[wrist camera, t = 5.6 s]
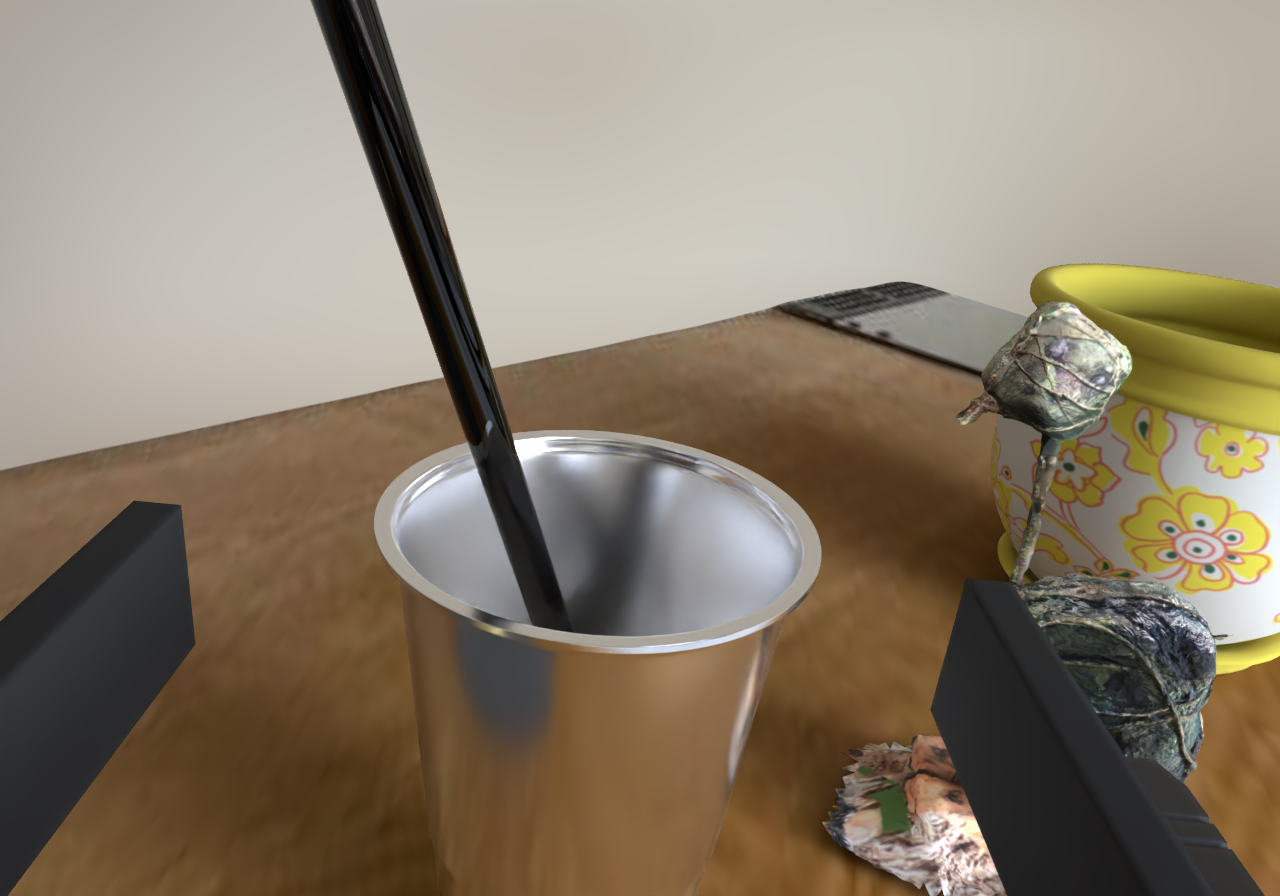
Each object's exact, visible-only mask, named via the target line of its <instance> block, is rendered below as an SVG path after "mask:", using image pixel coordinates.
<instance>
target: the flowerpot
mask: <svg viewBox="0 0 1280 896" xmlns="http://www.w3.org/2000/svg"><path fill="white" fill-rule="evenodd" d="M1030 295H1031V298H1032V301H1033V303H1034V304H1035V305H1036V307H1037V308H1038V307H1039V306H1041V305H1042V304H1043V303H1047V302H1048V301H1052V302H1068V303H1072V304H1074V305H1075V306H1077V307H1078V309H1079V311H1080V312H1081V313H1083V314H1084V315H1085V316H1086V317H1087V318H1088V319H1090V320H1091V321H1092V322H1093V323H1094V324H1095V325H1097V326H1098V327H1099V328H1100V329H1104V330H1107V331H1108V332H1109V333H1110V334H1111V335H1113V336H1114V337H1115V338H1116V339H1117V340H1118V341H1119V342H1120V343H1121V344H1122V345H1125V346H1126V347H1127V349H1128V350H1129V352H1130V354H1131V358H1132V371H1131V372H1130V374H1129V376H1128V377H1127V379H1126V380H1125V382H1124V384H1123V385H1122V387H1121V388H1120V390H1119V391H1118V392H1117V393H1116V394H1115V395H1113V396H1112V397H1111V398H1109V400H1108V403H1107V405H1106V406H1105V410H1104V413H1103V414H1102V415H1100V416H1099V421H1097V422H1096V423H1094V424H1092V425H1091V426H1090V427H1089V428H1088V429H1087V430H1086V431H1085V432H1084V433H1083V434H1081V435H1080V436H1079V437H1077V438H1076V439H1072V440H1066V441H1063V442H1062V443H1061V444H1060V450H1059V452H1058V464H1057V469H1056V471H1055V472H1054V477H1053V480H1052V483H1051V485H1050V488H1049V489H1048V491H1047V493H1046V497H1045V507H1044V508H1043V510H1042V511H1041V527H1040V531H1039V535H1038V538H1037V541H1036V543H1035V548H1034V554H1033V555H1032V557H1031V560H1030V563H1029V568H1028V569H1027V570H1026V571H1025V572H1024V573H1023V583H1022V585H1023V584H1026V583H1030V582H1036V581H1038V580H1040V579H1042V578H1043V577H1044V576H1048V575H1051V576H1057V577H1058V576H1064V575H1067V574H1068V573H1072V574H1074V573H1075V574H1077V573H1080V574H1085V575H1088V576H1094V577H1102V578H1107V579H1128V580H1131V581H1152V582H1158V583H1164V584H1166V585H1168V586H1169V587H1170V588H1172V589H1173V590H1175V591H1177V592H1178V593H1179V594H1180V595H1181V596H1182V597H1183V598H1184V599H1185V600H1187V601H1188V602H1190V603H1191V604H1192V605H1193V606H1194V607H1195V608H1196V609H1197V610H1198V612H1199V615H1200V616H1202V617H1203V619H1204V620H1205V621H1207V623H1208V626H1209V628H1210V631H1211V633H1212V635H1221V634H1227V635H1228V637H1226V638H1225V639H1223V640H1220V641H1219V640H1217V639H1215V644H1216V650H1217V653H1216V654H1217V655H1216V669H1217V671H1216V674H1226V673H1232V672H1236V671H1240V670H1242V669H1245V668H1247V667H1249V666H1251V665H1254V664H1259V663H1263V662H1267V661H1270V660H1272V659H1275V658H1276V657H1278V656H1280V289H1279V288H1274V287H1269V286H1265V285H1260V284H1255V283H1249V282H1244V281H1238V280H1233V279H1228V278H1222V277H1216V276H1210V275H1204V274H1197V273H1190V272H1183V271H1176V270H1169V269H1160V268H1152V267H1142V266H1130V265H1116V264H1067V265H1059V266H1053V267H1049V268H1046V269H1044V270H1042V271H1041V272H1039V273H1038V274H1037V275H1036V276H1035V277H1034V279H1033V281H1032V283H1031V288H1030ZM1041 437H1042V434H1041V433H1040V432H1038V431H1036V430H1035V429H1034V428H1033V427H1031V426H1029V425H1027V424H1024V423H1022V422H1020V421H1017V420H1013V419H1006V418H1003V416H1002V415H1000V414H999V416H998V420H997V424H996V428H995V433H994V438H993V445H992V453H991V479H992V488H993V494H994V499H995V503H996V506H997V510H998V513H999V516H1000V519H1001V521H1002V524H1003V526H1004V528H1005V531H1006V532H1005V533H1004V534H1003V535H1002V536H1001V538H1000V540H999V543H998V549H997V551H998V557H999V561H1000V563H1001V565H1002V567H1003V569H1004V571H1005V572H1006V574H1007V575H1008V576H1009V578H1010V576H1011V574H1012V572H1013V569H1014V567H1015V563H1016V560H1017V557H1018V553H1019V550H1020V547H1021V544H1022V538H1023V532H1024V530H1025V528H1026V527H1027V519H1028V515H1029V511H1030V507H1031V504H1032V500H1031V495H1032V490H1033V485H1034V482H1035V472H1036V468H1037V458H1038V456H1039V455H1040V449H1041ZM1230 635H1233V636H1230Z"/></svg>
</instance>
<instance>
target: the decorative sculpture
mask: <svg viewBox="0 0 1280 896" xmlns="http://www.w3.org/2000/svg"><path fill="white" fill-rule="evenodd" d="M1131 371H1132V358H1131V354H1130V352H1129V350H1128V349H1127V347H1126V346H1125V345H1122V344H1121V343H1120V342H1119V341H1118V340H1117V339H1116V338H1115V337H1114V336H1113V335H1111V334H1110V333H1109V332H1108V331H1107V330H1104V329H1100V328H1099V327H1098V326H1097V325H1095V324H1094V323H1093V322H1092V321H1091V320H1090V319H1088V318H1087V317H1086V316H1085V315H1084V314H1083V313H1081V312H1080V311H1079V309H1078V307H1077V306H1075V305H1074V304H1072V303H1068V302H1052V301H1048V302H1047V303H1043V304H1042V305H1041V306H1039V307H1038V308H1037V310H1036V311H1035V312H1034V313H1033V314H1031V316H1030V317H1029V318H1028V320H1027V321H1026V323H1025V324H1024V327H1023V328H1022V329H1021V330H1020V331H1019V332H1018V333H1017V334H1015V335H1014V336H1013V337H1012V338H1011V340H1010V341H1009V342H1008V343H1006V344H1005V345H1004V346H1003V347H1001V348H1000V349H999V351H998V352H997V353H996V354H995V355H994V357H993V359H992V360H991V361H990V362H989V364H988V365H987V367H986V368H985V370H984V371H983V373H982V381H983V385H984V394H983V395H982V396H980V397H978V398H975V399H973V400H972V401H971V403H970V405H969V407H968V408H966V409H965V410H963V411H962V412H960V413H959V414H958V415H957V417H956V419H955V420H956V421H957V423H958V424H963V425H968V424H970V423H972V422H974V421H976V420H977V419H978V418H979V417H980V416H981V415H982V413H988V412H991V413H997V414H1000V415H1002V416H1003V418H1006V419H1013V420H1017V421H1020V422H1022V423H1024V424H1027V425H1029V426H1031V427H1033V428H1034V429H1035V430H1036V431H1038V432H1040V433H1041V434H1042V437H1041V449H1040V455H1039V456H1038V458H1037V468H1036V472H1035V482H1034V485H1033V490H1032V495H1031V500H1032V504H1031V507H1030V511H1029V515H1028V519H1027V527H1026V528H1025V530H1024V532H1023V538H1022V544H1021V547H1020V550H1019V553H1018V557H1017V560H1016V563H1015V567H1014V569H1013V572H1012V574H1011V576H1010V579H1009V582H1011V583H1012V584H1013V586H1014V587H1015V589H1016V590H1017V592H1018V594H1019V595H1020V597H1021V598H1022V600H1023V601H1024V603H1025V604H1026V606H1027V607H1028V609H1029V610H1030V612H1031V613H1032V615H1033V616H1034V618H1035V620H1036V621H1037V623H1038V624H1039V626H1040V627H1041V629H1042V630H1043V632H1044V633H1045V635H1046V636H1047V638H1048V639H1049V641H1050V643H1051V644H1052V646H1053V647H1054V649H1055V650H1056V652H1057V653H1058V655H1059V656H1060V658H1061V659H1062V661H1063V662H1064V664H1065V665H1066V667H1067V669H1068V670H1069V672H1070V673H1071V675H1072V676H1073V678H1074V679H1075V681H1076V682H1077V684H1078V685H1079V687H1080V688H1081V690H1082V691H1083V693H1084V695H1085V696H1086V698H1087V699H1088V701H1089V702H1090V704H1091V705H1092V707H1093V708H1094V710H1095V711H1096V713H1097V714H1098V716H1099V717H1100V719H1101V721H1102V722H1103V724H1104V725H1105V727H1106V728H1107V730H1108V731H1109V733H1110V734H1111V736H1112V737H1113V739H1114V740H1115V742H1116V744H1117V745H1118V747H1119V748H1120V750H1121V751H1122V753H1123V754H1124V756H1125V757H1131V758H1143V759H1154V760H1155V761H1157V762H1158V763H1159V764H1160V765H1161V766H1163V767H1164V768H1165V769H1166V770H1167V771H1169V772H1170V773H1171V774H1172V775H1173V776H1175V777H1176V778H1177V779H1178V780H1179V781H1181V782H1182V783H1185V781H1186V777H1188V775H1189V773H1192V772H1193V771H1194V770H1196V768H1197V765H1198V763H1197V761H1196V759H1195V757H1196V755H1197V754H1198V753H1199V749H1200V747H1201V746H1202V739H1203V738H1204V734H1203V719H1202V715H1201V713H1200V710H1201V708H1202V707H1203V706H1204V705H1205V704H1206V703H1207V701H1208V699H1209V696H1210V694H1211V692H1212V686H1213V682H1214V679H1215V678H1216V671H1217V669H1216V655H1217V654H1216V653H1217V650H1216V644H1215V639H1217V640H1219V641H1220V640H1223V639H1225V638H1226V637H1228V635H1227V634H1221V635H1212V633H1211V631H1210V628H1209V626H1208V623H1207V621H1205V620H1204V619H1203V617H1202V616H1200V615H1199V612H1198V610H1197V609H1196V608H1195V607H1194V606H1193V605H1192V604H1191V603H1190V602H1188V601H1187V600H1185V599H1184V598H1183V597H1182V596H1181V595H1180V594H1179V593H1178V592H1177V591H1175V590H1173V589H1172V588H1170V587H1169V586H1168V585H1166V584H1164V583H1158V582H1152V581H1131V580H1128V579H1107V578H1102V577H1094V576H1088V575H1085V574H1080V573H1077V574H1075V573H1074V574H1072V573H1068V574H1067V575H1064V576H1058V577H1057V576H1051V575H1048V576H1044V577H1043V578H1042V579H1040V580H1038V581H1036V582H1030V583H1026V584H1023V585H1022V583H1023V573H1024V572H1025V571H1026V570H1027V569H1028V568H1029V563H1030V560H1031V557H1032V555H1033V554H1034V548H1035V543H1036V541H1037V538H1038V535H1039V531H1040V527H1041V511H1042V510H1043V508H1044V507H1045V497H1046V493H1047V491H1048V489H1049V488H1050V485H1051V483H1052V480H1053V477H1054V472H1055V471H1056V469H1057V464H1058V452H1059V450H1060V444H1061V443H1062V442H1063V441H1066V440H1072V439H1076V438H1077V437H1079V436H1080V435H1081V434H1083V433H1084V432H1085V431H1086V430H1087V429H1088V428H1089V427H1090V426H1091V425H1092V424H1094V423H1096V422H1097V421H1099V416H1100V415H1102V414H1103V413H1104V410H1105V406H1106V405H1107V403H1108V400H1109V398H1111V397H1112V396H1113V395H1115V394H1116V393H1117V392H1118V391H1119V390H1120V388H1121V387H1122V385H1123V384H1124V382H1125V380H1126V379H1127V377H1128V376H1129V374H1130V372H1131ZM1230 636H1233V635H1230ZM855 749H859V748H855ZM848 750H849V751H850V752H851V754H852V755H853V756H851V755H848V754H845V753H843V754H845V755H847V756H849V757H851V758H853V759H855V760H857V761H859V762H858V763H855V764H852V765H849V766H847V767H844V768H842V769H845V770H849V771H853V772H855V773H853V774H850V775H847V776H844V777H843V780H844V784H845V788H846V789H845V788H835V790H836V792H837V794H838V795H839V796H838V797H837V798H836V799H835V801H836V802H838V803H839V804H840V805H834V806H833V807H834V808H835V809H836V810H837V811H839V812H840V813H839V812H833V811H827V812H828V814H829V816H830V819H831V821H825V822H822V823H823V825H824V826H825V828H826V830H827V831H828V833H829V834H830V835H831V836H833V839H832V840H834V841H837V842H838V844H839V846H843V847H845V848H846V849H848V850H849V851H852V852H854V853H855V855H857V856H860V857H861V858H863V859H865V860H867V861H869V862H870V863H871V864H872V865H873V867H876V868H879V869H883V870H884V871H886V872H890V873H894V874H896V875H897V876H898V877H899V878H901V879H902V880H905V881H908V882H911V883H913V884H914V885H915V886H916V887H917V888H918V889H920V888H921V886H922V885H923V883H924V884H925V886H926V888H927V890H928V893H929V895H930V896H937V895H938V894H939V892H940V891H941V889H942V890H943V893H944V896H1007V894H1006V892H1005V889H1004V887H1003V885H1002V882H1001V880H1000V877H999V875H998V872H997V870H996V868H995V865H994V863H993V860H992V858H991V855H990V853H989V851H988V848H987V846H986V843H985V841H984V838H983V836H982V834H981V831H980V829H979V826H978V824H977V821H976V819H975V816H974V814H973V812H972V809H971V807H970V804H969V802H968V799H967V797H966V795H965V792H964V790H963V787H962V785H961V782H960V780H959V778H958V775H957V773H956V770H955V768H954V765H953V763H952V761H951V758H950V756H949V753H948V751H947V748H946V746H945V744H944V741H943V739H942V738H941V737H938V736H932V735H921V734H919V735H918V736H915V737H913V740H912V743H911V745H910V746H907V747H905V748H904V747H903V746H901V745H899V744H897V743H896V742H894V743H893V745H892V747H891V749H889V747H888V746H887V744H886V743H884V744H881V745H879V746H878V745H874V744H871V743H869V744H867V745H866V746H864V747H863V748H862V749H860V750H850V749H848ZM863 750H864V751H863Z"/></svg>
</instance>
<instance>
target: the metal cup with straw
mask: <svg viewBox="0 0 1280 896" xmlns="http://www.w3.org/2000/svg"><path fill="white" fill-rule="evenodd" d="M311 3H312V6H313V9H314V11H315V14H316V17H317V20H318V23H319V25H320V28H321V31H322V34H323V37H324V40H325V42H326V45H327V48H328V51H329V54H330V56H331V59H332V62H333V65H334V68H335V71H336V74H337V76H338V79H339V82H340V85H341V88H342V90H343V93H344V96H345V99H346V102H347V104H348V107H349V110H350V113H351V116H352V118H353V121H354V124H355V127H356V130H357V133H358V135H359V138H360V141H361V144H362V147H363V150H364V152H365V155H366V158H367V161H368V164H369V166H370V169H371V172H372V175H373V178H374V181H375V184H376V186H377V189H378V192H379V195H380V198H381V200H382V203H383V206H384V209H385V212H386V215H387V217H388V220H389V223H390V226H391V228H392V231H393V234H394V237H395V240H396V243H397V245H398V248H399V251H400V254H401V257H402V260H403V262H404V265H405V268H406V271H407V274H408V276H409V279H410V282H411V285H412V288H413V291H414V293H415V296H416V299H417V302H418V305H419V307H420V310H421V313H422V316H423V319H424V322H425V324H426V327H427V330H428V333H429V336H430V338H431V341H432V344H433V347H434V350H435V353H436V355H437V358H438V361H439V364H440V367H441V369H442V372H443V375H444V378H445V381H446V384H447V387H448V389H449V392H450V395H451V398H452V401H453V403H454V406H455V409H456V412H457V415H458V418H459V420H460V423H461V426H462V429H463V432H464V435H465V437H466V440H467V443H464V444H460V445H457V446H454V447H451V448H448V449H446V450H443V451H441V452H438V453H436V454H434V455H431V456H429V457H427V458H425V459H423V460H422V461H420V462H418V463H416V464H415V465H413V466H412V467H410V468H409V469H407V470H406V471H404V472H403V473H402V474H401V475H399V476H398V477H397V478H396V479H395V480H394V481H393V482H392V483H391V484H390V485H389V487H388V488H387V489H386V490H385V492H384V493H383V495H382V497H381V498H380V500H379V503H378V505H377V508H376V512H375V517H374V536H375V542H376V546H377V549H378V552H379V554H380V556H381V558H382V560H383V562H384V563H385V565H386V567H387V568H388V569H389V571H390V572H391V573H392V574H393V576H394V577H395V578H396V579H397V580H398V581H399V582H400V587H401V595H402V604H403V612H404V620H405V629H406V637H407V646H408V654H409V663H410V672H411V680H412V689H413V697H414V706H415V715H416V723H417V732H418V741H419V749H420V758H421V767H422V775H423V784H424V793H425V802H426V811H427V820H428V827H429V832H430V836H431V840H432V843H433V846H434V851H435V861H436V870H437V880H438V890H439V896H697V893H698V890H699V886H700V883H701V880H702V876H703V873H704V870H705V868H706V866H707V864H708V862H709V860H710V858H711V856H712V853H713V850H714V848H715V845H716V841H717V838H718V835H719V831H720V828H721V825H722V821H723V818H724V815H725V811H726V808H727V805H728V802H729V798H730V795H731V792H732V788H733V785H734V782H735V779H736V775H737V772H738V769H739V765H740V762H741V759H742V756H743V752H744V749H745V746H746V743H747V739H748V736H749V733H750V729H751V726H752V723H753V720H754V716H755V713H756V710H757V707H758V703H759V700H760V697H761V693H762V690H763V687H764V684H765V680H766V677H767V674H768V671H769V667H770V664H771V661H772V658H773V654H774V651H775V648H776V645H777V641H778V638H779V635H780V632H781V629H782V625H783V622H784V619H785V616H786V615H788V614H789V613H790V612H792V611H793V610H794V609H795V608H796V607H797V606H798V605H799V604H800V603H802V601H803V600H804V599H805V598H806V597H807V595H808V594H809V593H810V591H811V590H812V588H813V586H814V584H815V582H816V580H817V577H818V574H819V570H820V565H821V557H822V551H821V543H820V539H819V536H818V533H817V531H816V529H815V527H814V525H813V523H812V521H811V520H810V518H809V517H808V515H807V514H806V513H805V512H804V510H803V509H802V508H801V507H800V506H799V505H798V504H797V503H796V502H795V501H794V500H793V499H792V498H791V497H790V496H789V495H787V494H786V493H785V492H784V491H783V490H781V489H780V488H778V487H777V486H776V485H774V484H773V483H771V482H770V481H768V480H767V479H765V478H763V477H762V476H760V475H758V474H756V473H754V472H753V471H751V470H749V469H747V468H745V467H743V466H740V465H738V464H736V463H734V462H731V461H729V460H727V459H724V458H722V457H719V456H716V455H714V454H711V453H708V452H705V451H702V450H699V449H695V448H692V447H688V446H685V445H681V444H677V443H673V442H669V441H664V440H659V439H654V438H649V437H643V436H637V435H630V434H623V433H614V432H603V431H586V430H548V431H531V432H521V433H511V430H510V426H509V423H508V420H507V417H506V414H505V410H504V407H503V404H502V401H501V398H500V394H499V391H498V388H497V385H496V382H495V378H494V375H493V372H492V369H491V366H490V362H489V359H488V356H487V353H486V350H485V346H484V343H483V340H482V337H481V334H480V331H479V327H478V324H477V321H476V318H475V314H474V311H473V308H472V305H471V302H470V298H469V295H468V292H467V289H466V286H465V283H464V279H463V276H462V273H461V270H460V267H459V263H458V260H457V257H456V254H455V250H454V247H453V244H452V241H451V238H450V234H449V231H448V228H447V225H446V222H445V218H444V215H443V212H442V209H441V206H440V203H439V199H438V196H437V193H436V190H435V187H434V183H433V180H432V177H431V174H430V170H429V167H428V164H427V161H426V158H425V155H424V151H423V148H422V145H421V142H420V138H419V136H418V133H417V129H416V126H415V122H414V119H413V116H412V113H411V110H410V107H409V103H408V100H407V97H406V94H405V90H404V87H403V84H402V81H401V78H400V74H399V71H398V68H397V65H396V62H395V58H394V55H393V52H392V49H391V46H390V43H389V39H388V36H387V33H386V30H385V26H384V24H383V20H382V17H381V14H380V11H379V7H378V4H377V1H376V0H311Z"/></svg>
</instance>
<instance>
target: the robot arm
mask: <svg viewBox="0 0 1280 896" xmlns="http://www.w3.org/2000/svg"><path fill="white" fill-rule="evenodd" d="M194 645H195V637H194V627H193V617H192V607H191V598H190V588H189V578H188V569H187V559H186V549H185V539H184V530H183V520H182V510H181V505H174V504H163V503H152V502H142V501H133V502H132V503H131V504H130V505H129V506H128V507H127V508H125V509H124V510H123V511H122V512H121V513H120V514H119V515H118V516H117V517H115V518H114V519H113V520H112V521H111V522H110V523H109V524H108V525H107V526H105V527H104V528H103V529H102V530H101V531H100V532H99V533H98V534H97V535H96V536H94V537H93V538H92V539H91V540H90V541H89V542H88V543H87V544H86V545H84V546H83V547H82V548H81V549H80V550H79V551H78V552H77V553H76V554H74V555H73V556H72V557H71V558H70V559H69V560H68V561H67V562H66V563H65V564H63V565H62V566H61V567H60V568H59V569H58V570H57V571H56V572H55V573H53V574H52V575H51V576H50V577H49V578H48V579H47V580H46V581H45V582H43V583H42V584H41V585H40V586H39V587H38V588H37V589H36V590H35V591H34V592H32V593H31V594H30V595H29V596H28V597H27V598H26V599H25V600H24V601H22V602H21V603H20V604H19V605H18V606H17V607H16V608H15V609H14V610H12V611H11V612H10V613H9V614H8V615H7V616H6V617H5V618H4V619H3V620H1V621H0V896H8V894H9V893H10V892H11V890H12V889H13V888H14V886H15V885H16V884H17V882H18V881H19V880H20V878H21V877H22V876H23V874H24V873H25V872H26V870H27V869H28V868H29V866H30V865H31V864H32V862H33V861H34V860H35V858H36V857H37V856H38V854H39V853H40V852H41V850H42V849H43V848H44V846H45V845H46V844H47V842H48V841H49V840H50V838H51V837H52V835H53V834H54V833H55V831H56V830H57V829H58V827H59V826H60V825H61V823H62V822H63V821H64V819H65V818H66V817H67V815H68V814H69V813H70V811H71V810H72V809H73V807H74V806H75V805H76V803H77V802H78V801H79V799H80V798H81V797H82V795H83V794H84V793H85V791H86V790H87V789H88V787H89V786H90V785H91V783H92V782H93V781H94V779H95V778H96V777H97V775H98V774H99V773H100V771H101V770H102V769H103V767H104V766H105V765H106V763H107V762H108V761H109V759H110V758H111V757H112V755H113V754H114V752H115V751H116V750H117V748H118V747H119V746H120V744H121V743H122V742H123V740H124V739H125V738H126V736H127V735H128V734H129V732H130V731H131V730H132V728H133V727H134V726H135V724H136V723H137V722H138V720H139V719H140V718H141V716H142V715H143V714H144V712H145V711H146V710H147V708H148V707H149V706H150V704H151V703H152V702H153V700H154V699H155V698H156V696H157V695H158V694H159V692H160V691H161V690H162V688H163V687H164V686H165V684H166V683H167V682H168V680H169V679H170V678H171V676H172V675H173V673H174V672H175V671H176V669H177V668H178V667H179V665H180V664H181V663H182V661H183V660H184V659H185V657H186V656H187V655H188V653H189V652H190V651H191V649H192V648H193V647H194ZM931 712H932V714H933V717H934V719H935V722H936V724H937V727H938V729H939V731H940V734H941V736H942V739H943V741H944V744H945V746H946V748H947V751H948V753H949V756H950V758H951V761H952V763H953V765H954V768H955V770H956V773H957V775H958V778H959V780H960V782H961V785H962V787H963V790H964V792H965V795H966V797H967V799H968V802H969V804H970V807H971V809H972V812H973V814H974V816H975V819H976V821H977V824H978V826H979V829H980V831H981V834H982V836H983V838H984V841H985V843H986V846H987V848H988V851H989V853H990V855H991V858H992V860H993V863H994V865H995V868H996V870H997V872H998V875H999V877H1000V880H1001V882H1002V885H1003V887H1004V889H1005V892H1006V894H1007V896H1264V894H1263V893H1262V891H1261V890H1260V889H1259V887H1258V886H1257V884H1256V883H1255V882H1254V880H1253V879H1252V877H1251V876H1250V875H1249V873H1248V872H1247V870H1246V869H1245V868H1244V866H1243V865H1242V863H1241V862H1240V860H1239V859H1238V858H1237V856H1236V855H1235V853H1234V852H1233V851H1232V849H1228V848H1227V842H1226V841H1225V839H1224V838H1223V837H1222V835H1221V834H1220V832H1219V831H1218V829H1217V828H1216V827H1215V825H1214V824H1210V823H1209V817H1208V815H1207V814H1206V813H1205V811H1204V810H1203V808H1202V807H1201V806H1200V804H1199V803H1198V801H1197V800H1196V798H1195V797H1194V796H1193V794H1192V793H1191V791H1190V790H1189V789H1188V787H1187V786H1185V785H1184V784H1183V783H1182V782H1181V781H1179V780H1178V779H1177V778H1176V777H1175V776H1173V775H1172V774H1171V773H1170V772H1169V771H1167V770H1166V769H1165V768H1164V767H1163V766H1161V765H1160V764H1159V763H1158V762H1157V761H1155V760H1154V759H1143V758H1131V757H1125V756H1124V754H1123V753H1122V751H1121V750H1120V748H1119V747H1118V745H1117V744H1116V742H1115V740H1114V739H1113V737H1112V736H1111V734H1110V733H1109V731H1108V730H1107V728H1106V727H1105V725H1104V724H1103V722H1102V721H1101V719H1100V717H1099V716H1098V714H1097V713H1096V711H1095V710H1094V708H1093V707H1092V705H1091V704H1090V702H1089V701H1088V699H1087V698H1086V696H1085V695H1084V693H1083V691H1082V690H1081V688H1080V687H1079V685H1078V684H1077V682H1076V681H1075V679H1074V678H1073V676H1072V675H1071V673H1070V672H1069V670H1068V669H1067V667H1066V665H1065V664H1064V662H1063V661H1062V659H1061V658H1060V656H1059V655H1058V653H1057V652H1056V650H1055V649H1054V647H1053V646H1052V644H1051V643H1050V641H1049V639H1048V638H1047V636H1046V635H1045V633H1044V632H1043V630H1042V629H1041V627H1040V626H1039V624H1038V623H1037V621H1036V620H1035V618H1034V616H1033V615H1032V613H1031V612H1030V610H1029V609H1028V607H1027V606H1026V604H1025V603H1024V601H1023V600H1022V598H1021V597H1020V595H1019V594H1018V592H1017V590H1016V589H1015V587H1014V586H1013V584H1012V583H1011V582H1001V581H990V580H980V579H969V578H966V582H965V586H964V589H963V593H962V597H961V600H960V604H959V608H958V611H957V615H956V619H955V622H954V626H953V630H952V633H951V637H950V641H949V644H948V648H947V652H946V655H945V659H944V662H943V666H942V670H941V673H940V677H939V681H938V684H937V688H936V692H935V695H934V699H933V703H932V706H931Z"/></svg>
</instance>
